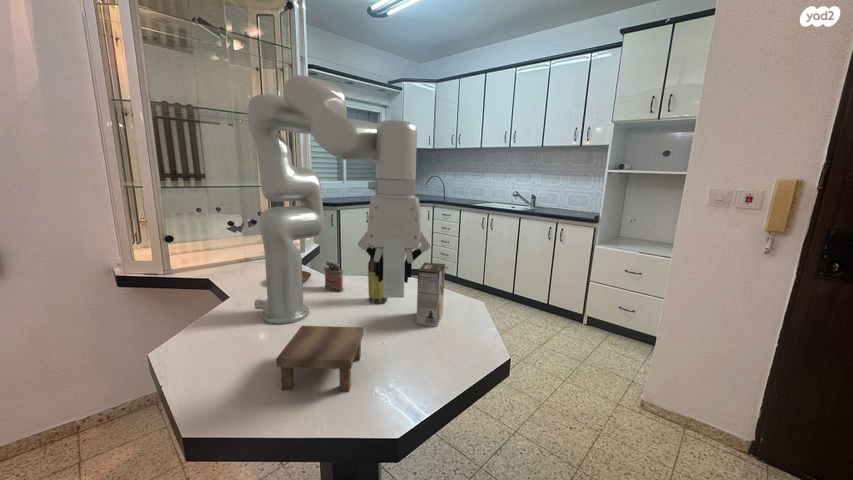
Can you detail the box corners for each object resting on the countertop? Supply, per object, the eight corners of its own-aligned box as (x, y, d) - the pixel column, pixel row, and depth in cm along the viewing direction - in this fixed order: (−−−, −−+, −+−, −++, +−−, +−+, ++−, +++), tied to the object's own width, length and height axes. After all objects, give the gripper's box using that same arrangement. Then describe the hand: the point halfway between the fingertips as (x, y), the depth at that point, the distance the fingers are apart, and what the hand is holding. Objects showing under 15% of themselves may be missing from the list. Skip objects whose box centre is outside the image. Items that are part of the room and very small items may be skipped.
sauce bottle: (381, 296, 118) (381, 239, 114) (391, 302, 113) (392, 243, 109) (364, 300, 114) (364, 241, 110) (374, 306, 109) (374, 245, 105)
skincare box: (383, 287, 73) (384, 231, 70) (403, 287, 73) (405, 232, 71) (382, 298, 67) (383, 237, 64) (404, 298, 67) (406, 238, 65)
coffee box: (422, 312, 106) (424, 261, 103) (443, 314, 105) (445, 263, 101) (415, 324, 97) (417, 270, 94) (438, 327, 96) (440, 272, 93)
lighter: (345, 290, 122) (345, 263, 120) (338, 293, 119) (337, 265, 117) (329, 285, 126) (329, 259, 124) (322, 288, 123) (321, 261, 122)
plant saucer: (262, 288, 122) (262, 281, 121) (277, 276, 136) (277, 269, 136) (305, 289, 123) (305, 282, 122) (315, 276, 137) (315, 270, 137)
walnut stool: (278, 391, 66) (276, 358, 65) (303, 353, 80) (301, 325, 78) (351, 393, 66) (350, 360, 65) (363, 355, 80) (363, 327, 79)
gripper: (347, 188, 62) (347, 284, 65) (440, 192, 62) (435, 287, 66) (355, 186, 69) (355, 273, 73) (438, 189, 69) (434, 275, 73)
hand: (393, 279), depth 69 cm, fingers closed on skincare box, 4 cm apart
